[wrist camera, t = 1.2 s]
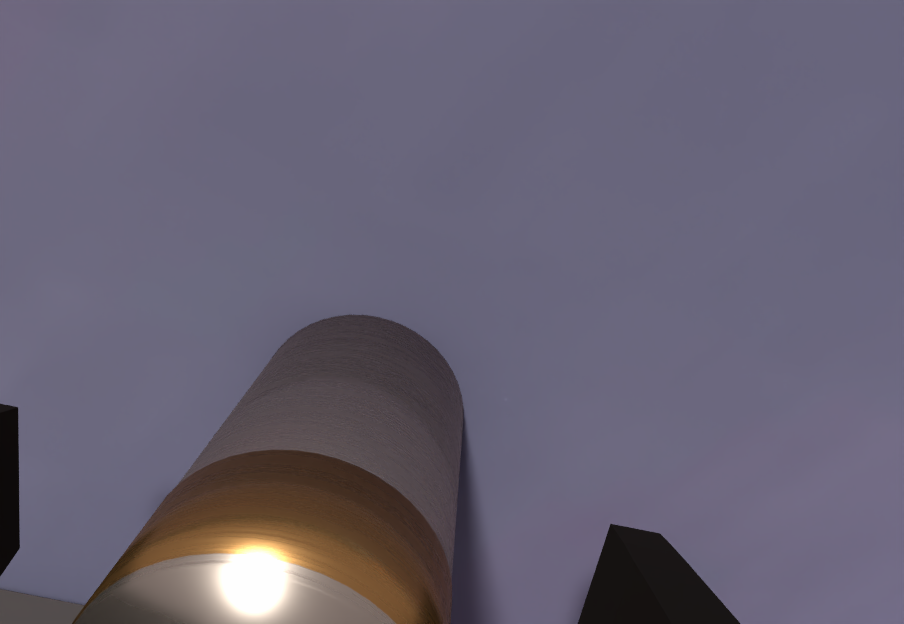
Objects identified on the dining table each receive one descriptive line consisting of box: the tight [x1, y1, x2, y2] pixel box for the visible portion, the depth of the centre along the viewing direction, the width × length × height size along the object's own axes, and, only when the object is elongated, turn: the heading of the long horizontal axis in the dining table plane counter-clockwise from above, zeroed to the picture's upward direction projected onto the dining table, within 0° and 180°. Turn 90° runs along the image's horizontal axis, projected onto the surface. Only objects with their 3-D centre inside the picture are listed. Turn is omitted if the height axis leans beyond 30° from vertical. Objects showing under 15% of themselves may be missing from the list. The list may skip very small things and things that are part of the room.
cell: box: [72, 315, 463, 624], centre depth 9 cm, size 4×3×6 cm
